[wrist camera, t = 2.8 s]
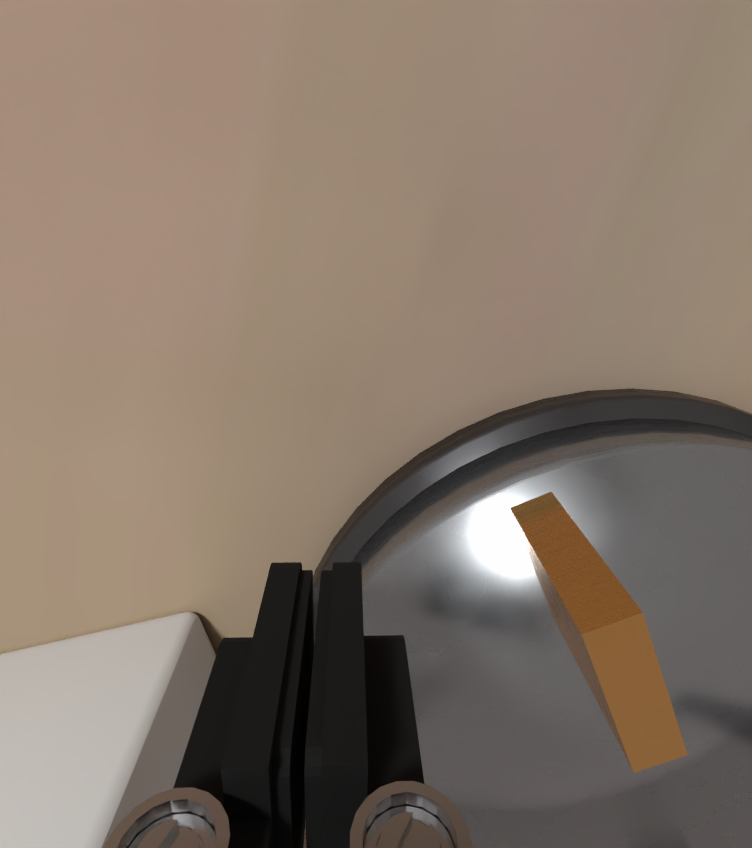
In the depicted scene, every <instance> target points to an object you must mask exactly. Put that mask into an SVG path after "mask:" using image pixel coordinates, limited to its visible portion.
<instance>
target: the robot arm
mask: <svg viewBox="0 0 752 848" xmlns="http://www.w3.org/2000/svg"><path fill="white" fill-rule="evenodd" d="M305 818H306V841H307V848H474V846H473V843H472V840H471V837H470V834H469V831H468V828H467V826H466V824H465V822H464V820H463V818H462V816H461V814H460V812H459V810H458V809H457V808H456V807H455V806H454V804H453V803H452V802H451V801H450V800H449V799H448V798H447V797H446V796H445V795H444V794H442V793H441V792H439V791H438V790H436V789H434V788H433V787H431V786H429V785H426V784H424V777H423V769H422V762H421V754H420V747H419V740H418V732H417V725H416V717H415V710H414V703H413V695H412V688H411V681H410V673H409V666H408V658H407V651H406V644H405V638H404V636H403V635H381V636H364V627H363V597H362V566H361V562H333V566H332V570H321V578H320V589H319V600H318V611H317V622H316V633H315V645H314V606H313V572H312V570H302V564H301V563H272V564H271V566H270V570H269V574H268V578H267V582H266V586H265V590H264V594H263V598H262V602H261V606H260V611H259V615H258V619H257V623H256V627H255V631H254V635H253V638H224V639H223V640H222V641H221V643H220V646H219V648H218V651H217V655H216V658H215V661H214V664H213V667H212V670H211V673H210V676H209V679H208V682H207V685H206V689H205V692H204V695H203V698H202V701H201V704H200V707H199V710H198V713H197V716H196V719H195V723H194V726H193V729H192V732H191V735H190V738H189V741H188V744H187V747H186V750H185V753H184V757H183V760H182V763H181V766H180V769H179V772H178V775H177V778H176V781H175V784H174V787H173V789H170V790H167V791H164V792H161V793H158V794H155V795H154V796H152V797H150V798H149V799H147V800H145V801H144V802H142V803H141V804H139V805H137V806H136V807H135V808H134V809H133V810H132V811H131V812H130V813H129V814H128V815H127V816H126V817H124V818H123V819H122V820H121V821H120V823H119V824H118V825H117V827H116V828H115V830H114V831H113V833H112V834H111V835H110V837H109V838H108V840H107V841H106V843H105V845H104V847H103V848H303V844H304V831H305Z"/></svg>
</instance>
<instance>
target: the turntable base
mask: <svg viewBox="0 0 752 848" xmlns="http://www.w3.org/2000/svg"><path fill="white" fill-rule="evenodd" d="M632 418H640V419H676V420H683V421H689V422H696V423H702V424H708V425H714V426H720V427H723V428H726V429H729V430H732V431H736V432H739V433H742V434H745V435H749V436H752V414H751V413H748V412H745V411H743V410H740V409H737V408H735V407H732V406H729V405H727V404H724V403H721V402H719V401H716V400H711V399H707V398H702V397H697V396H693V395H688V394H683V393H679V392H671V391H658V390H644V389H617V390H598V391H585V392H580V393H574V394H569V395H563V396H558V397H552V398H546V399H542V400H538V401H535V402H532V403H529V404H525V405H522V406H519V407H516V408H512V409H509V410H506V411H503V412H499V413H497V414H495V415H492V416H490V417H488V418H486V419H483V420H481V421H479V422H477V423H474V424H472V425H470V426H468V427H465V428H463V429H461V430H458V431H457V432H455V433H453V434H451V435H450V436H448V437H446V438H445V439H443V440H441V441H440V442H438V443H436V444H435V445H433V446H431V447H430V448H428V449H426V450H424V451H423V452H421V453H419V454H418V455H417V456H416V457H414V458H413V459H412V460H410V461H409V462H408V463H406V464H405V465H404V466H403V467H401V468H400V469H399V470H397V471H396V472H395V473H393V474H392V475H391V476H390V477H388V478H387V479H386V480H385V481H384V482H383V483H382V484H381V485H380V486H379V487H378V488H377V489H376V490H375V491H374V492H373V493H372V494H371V495H370V496H369V497H368V498H367V499H366V500H365V501H364V502H363V503H362V504H361V505H359V506H358V507H357V509H356V510H355V511H354V512H353V514H352V515H351V516H350V518H349V519H348V520H347V522H346V523H345V524H344V525H343V527H342V528H341V529H340V531H339V532H338V533H337V535H336V536H335V537H334V539H333V540H332V542H331V544H330V546H329V547H328V549H327V551H326V553H325V554H324V556H323V558H322V560H321V561H320V563H319V565H318V567H317V569H316V571H315V573H314V576H313V606H314V637H315V633H316V622H317V611H318V600H319V589H320V578H321V570H332V566H333V562H351V561H352V560H353V559H354V557H355V556H356V554H357V553H358V552H359V550H360V549H361V547H362V546H363V545H364V544H365V543H366V542H367V541H368V540H369V539H370V538H371V536H372V535H373V534H374V533H375V532H376V531H377V530H378V529H379V528H380V527H381V526H382V525H383V524H384V523H385V522H386V521H387V520H388V519H389V518H390V517H391V516H392V515H393V514H394V513H395V512H397V511H398V510H399V509H400V508H402V507H403V506H404V505H405V504H407V503H408V502H409V501H410V500H411V499H413V498H414V497H415V496H416V495H418V494H419V493H420V492H421V491H422V490H424V489H426V488H427V487H429V486H430V485H432V484H433V483H435V482H437V481H438V480H440V479H441V478H443V477H444V476H446V475H448V474H449V473H451V472H452V471H454V470H456V469H457V468H459V467H460V466H463V465H465V464H467V463H469V462H471V461H473V460H475V459H477V458H479V457H481V456H483V455H486V454H488V453H490V452H492V451H494V450H496V449H498V448H500V447H503V446H506V445H509V444H512V443H515V442H517V441H520V440H523V439H526V438H529V437H532V436H535V435H538V434H541V433H544V432H548V431H553V430H557V429H562V428H566V427H571V426H576V425H580V424H585V423H590V422H601V421H611V420H621V419H632Z"/></svg>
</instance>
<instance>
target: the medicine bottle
mask: <svg viewBox="0 0 752 848" xmlns="http://www.w3.org/2000/svg"><path fill="white" fill-rule="evenodd" d="M215 658H216V654H215V651H214V649H213V647H212V645H211V643H210V640H209V638H208V636H207V634H206V632H205V629H204V627H203V625H202V623H201V621H200V618H199V617H198V616H197V615H196V614H195V613H192V612H183V613H179V614H174V615H170V616H166V617H161V618H157V619H152V620H148V621H144V622H139V623H135V624H130V625H126V626H122V627H117V628H113V629H108V630H104V631H100V632H95V633H91V634H86V635H82V636H78V637H73V638H69V639H65V640H60V641H56V642H51V643H47V644H43V645H38V646H34V647H29V648H25V649H21V650H16V651H12V652H7V653H3V654H0V848H103V847H104V845H105V843H106V841H107V840H108V838H109V837H110V835H111V834H112V833H113V831H114V830H115V828H116V827H117V825H118V824H119V823H120V821H121V820H122V819H123V818H124V817H126V816H127V815H128V814H129V813H130V812H131V811H132V810H133V809H134V808H135V807H136V806H137V805H139V804H141V803H142V802H144V801H145V800H147V799H149V798H150V797H152V796H154V795H155V794H158V793H161V792H164V791H167V790H170V789H173V787H174V784H175V781H176V778H177V775H178V772H179V769H180V766H181V763H182V760H183V757H184V753H185V750H186V747H187V744H188V741H189V738H190V735H191V732H192V729H193V726H194V723H195V719H196V716H197V713H198V710H199V707H200V704H201V701H202V698H203V695H204V692H205V689H206V685H207V682H208V679H209V676H210V673H211V670H212V667H213V664H214V661H215Z"/></svg>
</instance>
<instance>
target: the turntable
mask: <svg viewBox="0 0 752 848" xmlns="http://www.w3.org/2000/svg"><path fill="white" fill-rule="evenodd" d="M351 562H361V566H362V597H363V627H364V636H381V635H403V636H404V638H405V644H406V651H407V658H408V666H409V673H410V681H411V688H412V695H413V703H414V710H415V717H416V725H417V732H418V740H419V747H420V754H421V762H422V769H423V777H424V784H426V785H429V786H431V787H433V788H434V789H436V790H438V791H439V792H441V793H442V794H444V795H445V796H446V797H447V798H448V799H449V800H450V801H451V802H452V803H453V804H454V806H455V807H456V808H457V809H458V810H459V812H460V814H461V816H462V818H463V820H464V822H465V824H466V826H467V828H468V831H469V834H470V837H471V840H472V843H473V846H474V848H752V436H749V435H745V434H742V433H739V432H736V431H732V430H729V429H726V428H723V427H720V426H714V425H708V424H702V423H696V422H689V421H683V420H676V419H640V418H632V419H621V420H611V421H601V422H590V423H585V424H580V425H576V426H571V427H566V428H562V429H557V430H553V431H548V432H544V433H541V434H538V435H535V436H532V437H529V438H526V439H523V440H520V441H517V442H515V443H512V444H509V445H506V446H503V447H500V448H498V449H496V450H494V451H492V452H490V453H488V454H486V455H483V456H481V457H479V458H477V459H475V460H473V461H471V462H469V463H467V464H465V465H463V466H460V467H459V468H457V469H456V470H454V471H452V472H451V473H449V474H448V475H446V476H444V477H443V478H441V479H440V480H438V481H437V482H435V483H433V484H432V485H430V486H429V487H427V488H426V489H424V490H422V491H421V492H420V493H419V494H418V495H416V496H415V497H414V498H413V499H411V500H410V501H409V502H408V503H407V504H405V505H404V506H403V507H402V508H400V509H399V510H398V511H397V512H395V513H394V514H393V515H392V516H391V517H390V518H389V519H388V520H387V521H386V522H385V523H384V524H383V525H382V526H381V527H380V528H379V529H378V530H377V531H376V532H375V533H374V534H373V535H372V536H371V538H370V539H369V540H368V541H367V542H366V543H365V544H364V545H363V546H362V547H361V549H360V550H359V552H358V553H357V554H356V556H355V557H354V559H353V560H352V561H351ZM314 645H315V637H314Z"/></svg>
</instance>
